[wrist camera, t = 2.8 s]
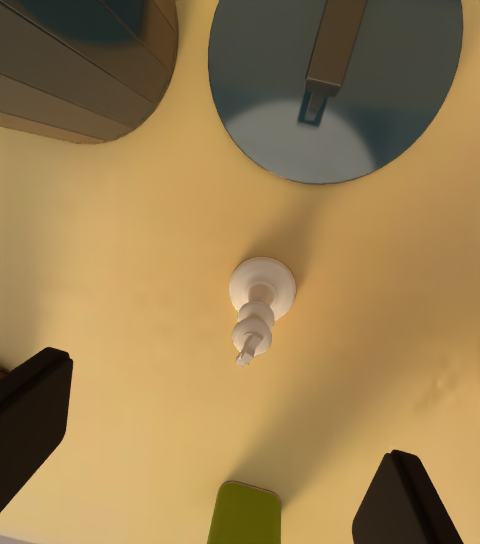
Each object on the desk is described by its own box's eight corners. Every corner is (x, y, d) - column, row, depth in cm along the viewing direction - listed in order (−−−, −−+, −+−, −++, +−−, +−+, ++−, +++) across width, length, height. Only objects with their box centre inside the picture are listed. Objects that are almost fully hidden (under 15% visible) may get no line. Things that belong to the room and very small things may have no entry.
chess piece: (309, 280, 23) (328, 347, 13) (271, 331, 24) (263, 425, 14) (252, 243, 23) (228, 283, 13) (217, 297, 24) (173, 368, 14)
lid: (498, -56, 17) (624, -199, 11) (397, 208, 21) (446, 216, 14) (241, -106, 18) (218, -265, 11) (191, 156, 22) (155, 142, 15)
